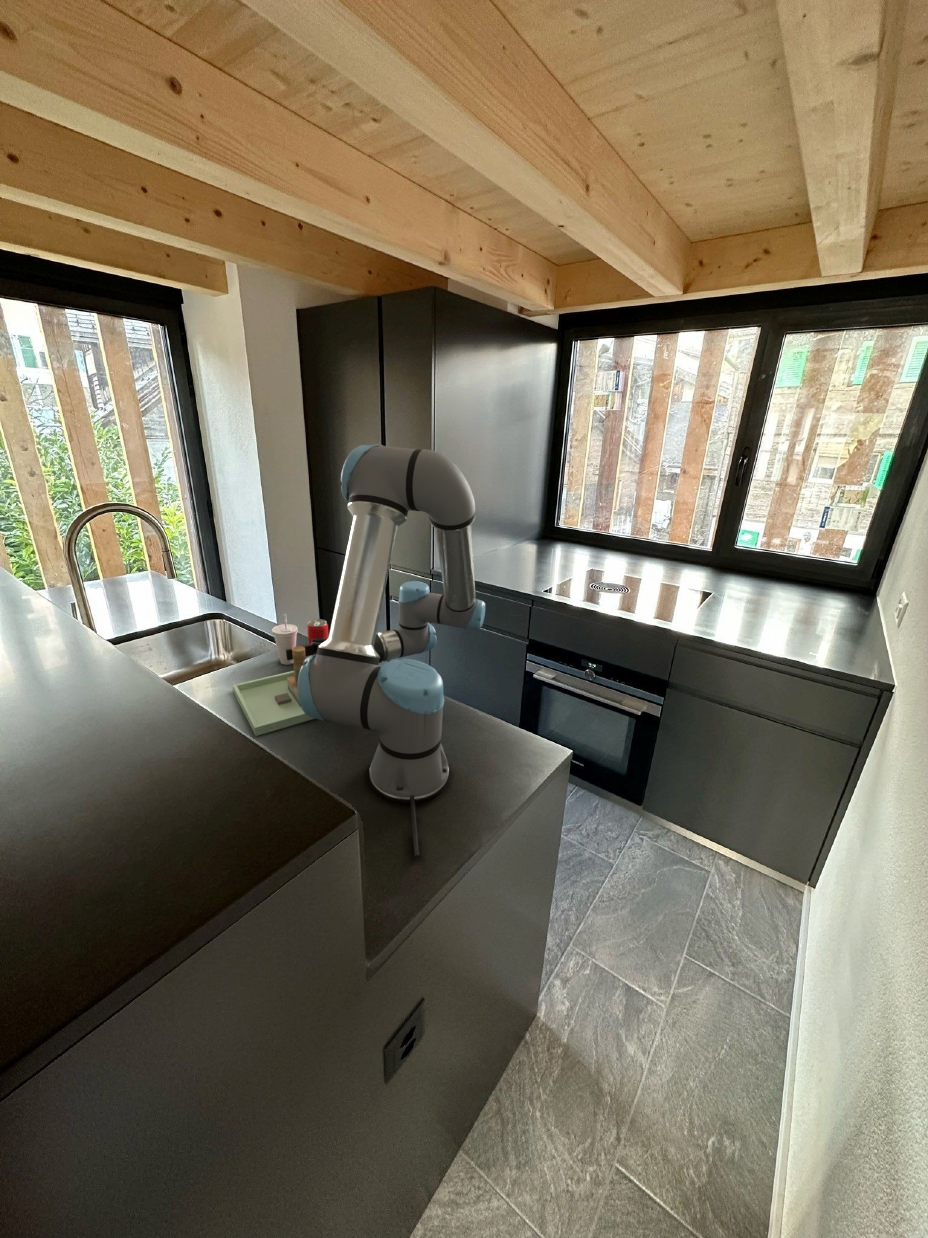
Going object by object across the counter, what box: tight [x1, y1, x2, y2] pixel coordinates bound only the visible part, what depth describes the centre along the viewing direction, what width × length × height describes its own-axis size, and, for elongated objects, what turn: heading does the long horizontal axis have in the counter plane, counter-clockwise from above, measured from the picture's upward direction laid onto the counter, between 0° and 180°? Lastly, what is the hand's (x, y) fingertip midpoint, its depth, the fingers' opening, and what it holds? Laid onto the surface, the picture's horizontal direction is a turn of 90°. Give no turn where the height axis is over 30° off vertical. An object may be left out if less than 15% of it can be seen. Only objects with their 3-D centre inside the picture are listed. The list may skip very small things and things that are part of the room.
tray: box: [232, 670, 316, 737], centre depth 120 cm, size 20×17×2 cm
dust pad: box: [275, 693, 291, 705], centre depth 120 cm, size 3×3×1 cm
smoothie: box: [271, 613, 299, 666], centre depth 135 cm, size 6×6×14 cm
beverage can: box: [306, 618, 329, 656], centre depth 136 cm, size 5×5×12 cm
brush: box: [287, 645, 307, 707], centre depth 120 cm, size 9×4×12 cm, turn 35°
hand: (295, 667), depth 119 cm, fingers open, 13 cm apart
